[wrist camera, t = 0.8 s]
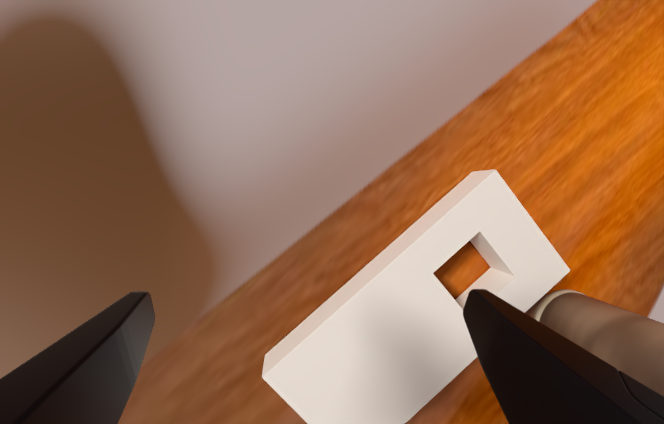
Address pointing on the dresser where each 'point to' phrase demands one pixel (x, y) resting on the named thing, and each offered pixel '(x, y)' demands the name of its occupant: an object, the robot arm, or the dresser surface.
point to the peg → (607, 333)
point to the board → (411, 311)
